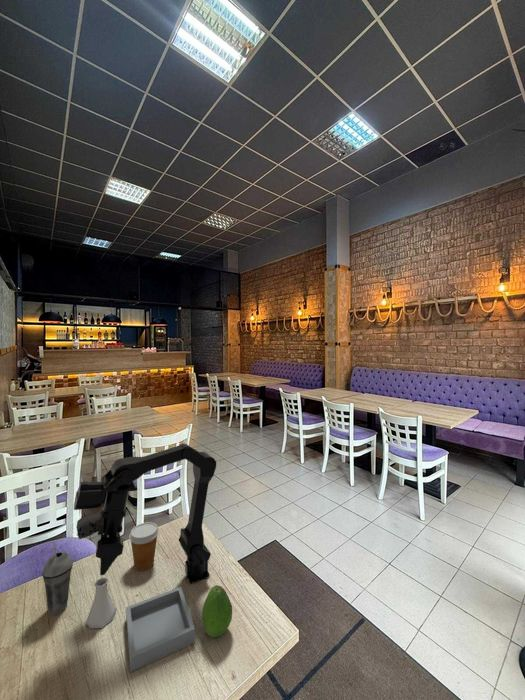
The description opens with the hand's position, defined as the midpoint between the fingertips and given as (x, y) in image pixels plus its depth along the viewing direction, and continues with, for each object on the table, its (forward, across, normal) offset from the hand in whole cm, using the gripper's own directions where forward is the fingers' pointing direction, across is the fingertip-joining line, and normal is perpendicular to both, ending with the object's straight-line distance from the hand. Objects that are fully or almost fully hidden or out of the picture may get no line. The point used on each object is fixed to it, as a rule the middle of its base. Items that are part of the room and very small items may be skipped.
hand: (102, 563), depth 82 cm
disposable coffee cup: (+12, -16, +16) cm, 25 cm away
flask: (+15, 0, +3) cm, 15 cm away
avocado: (+10, +19, +29) cm, 36 cm away
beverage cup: (+17, -9, -8) cm, 21 cm away
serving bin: (+12, +12, +16) cm, 23 cm away
